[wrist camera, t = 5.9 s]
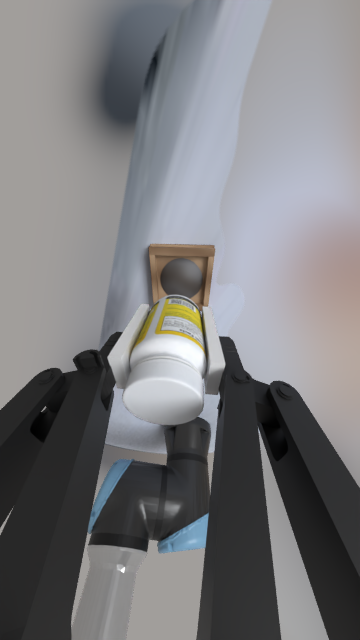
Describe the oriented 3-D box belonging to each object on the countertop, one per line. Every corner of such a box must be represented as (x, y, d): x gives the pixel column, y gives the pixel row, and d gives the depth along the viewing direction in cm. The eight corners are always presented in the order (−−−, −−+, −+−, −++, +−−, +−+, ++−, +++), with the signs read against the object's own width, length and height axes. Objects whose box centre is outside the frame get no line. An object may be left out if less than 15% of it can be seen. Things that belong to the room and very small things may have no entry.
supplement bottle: (164, 341, 16) (143, 433, 9) (141, 304, 14) (90, 386, 7) (208, 328, 15) (223, 422, 8) (190, 285, 13) (190, 361, 6)
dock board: (206, 307, 27) (207, 312, 26) (156, 305, 28) (154, 310, 26) (213, 245, 22) (215, 246, 20) (151, 243, 22) (148, 245, 21)
